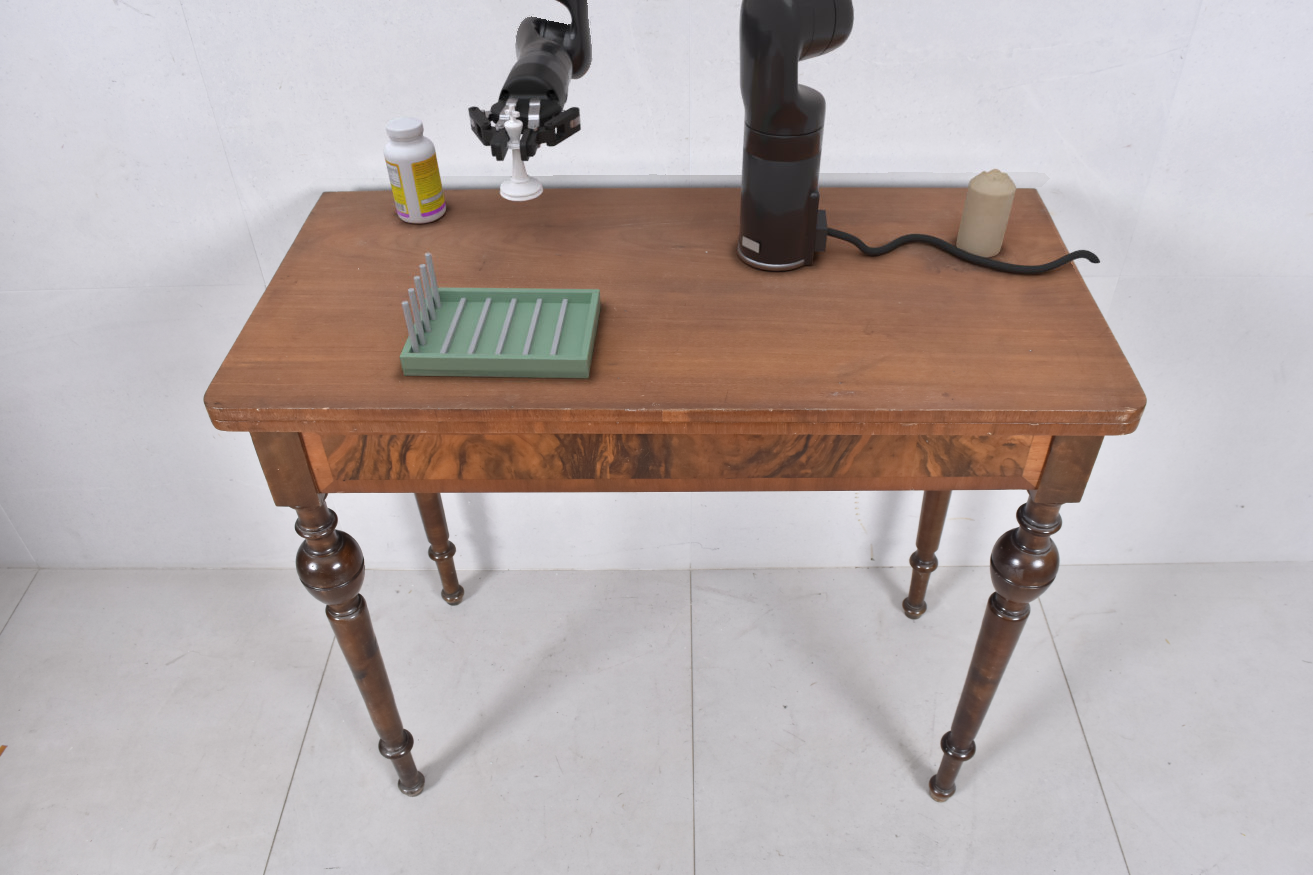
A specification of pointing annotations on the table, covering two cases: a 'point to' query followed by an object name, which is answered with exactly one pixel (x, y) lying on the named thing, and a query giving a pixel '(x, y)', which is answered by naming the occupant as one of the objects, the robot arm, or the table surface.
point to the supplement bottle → (413, 171)
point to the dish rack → (499, 330)
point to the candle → (986, 213)
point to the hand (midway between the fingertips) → (511, 152)
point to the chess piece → (518, 165)
